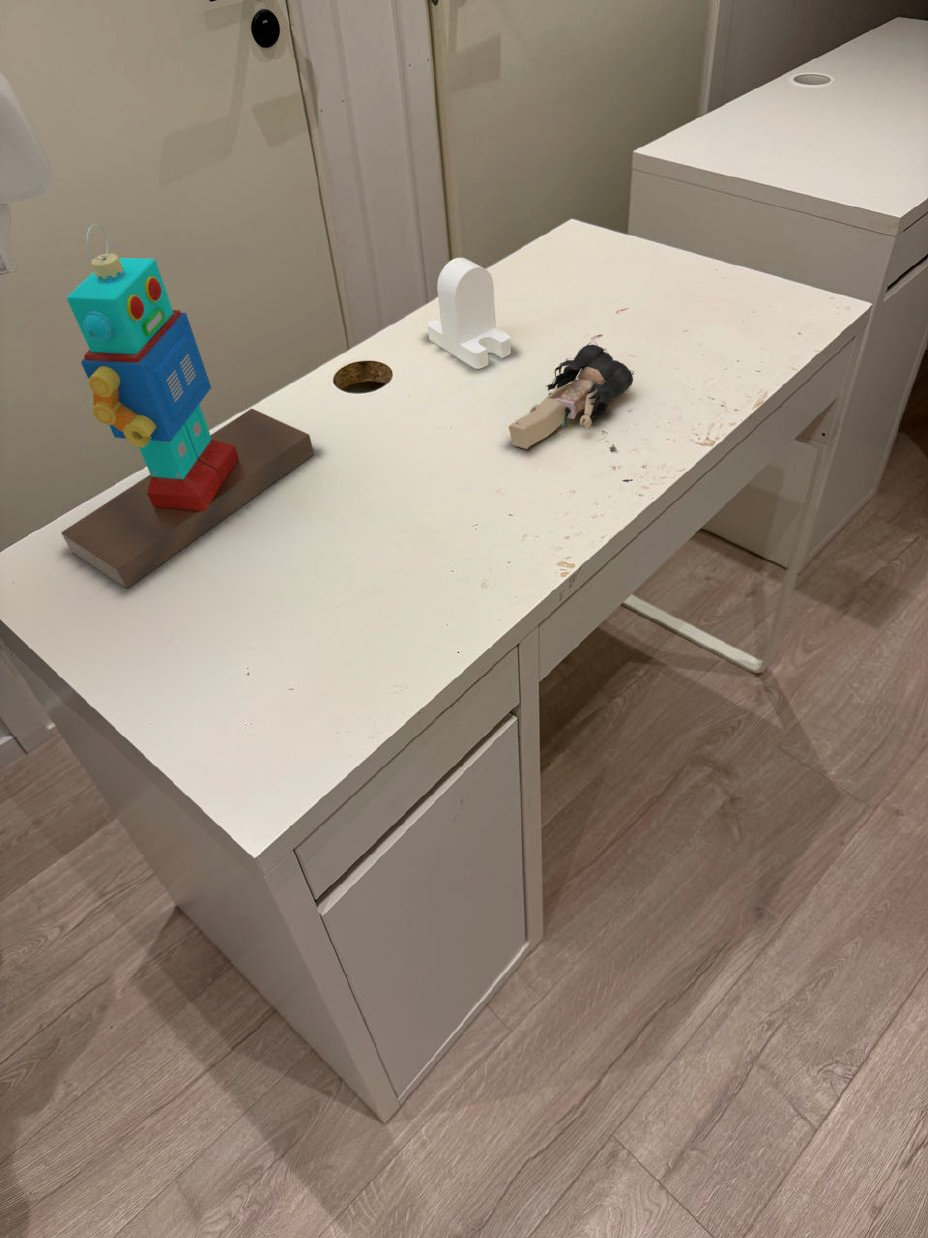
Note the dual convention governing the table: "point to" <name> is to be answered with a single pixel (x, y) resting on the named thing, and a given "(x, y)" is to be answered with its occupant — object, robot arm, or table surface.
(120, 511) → the brown slab
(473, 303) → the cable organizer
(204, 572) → the table surface
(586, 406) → the toy figure
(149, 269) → the toy robot
